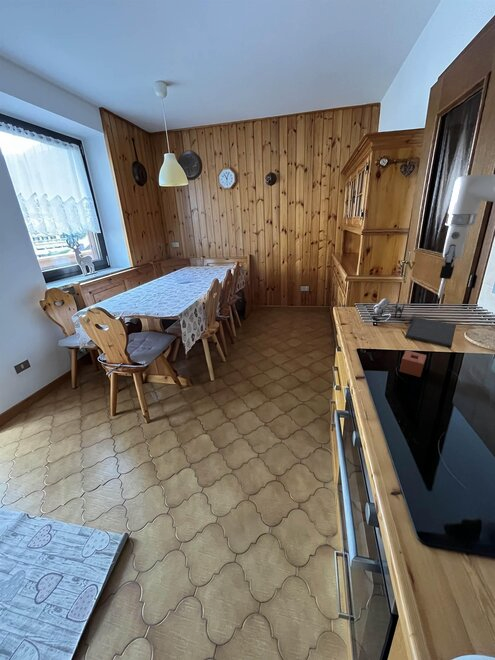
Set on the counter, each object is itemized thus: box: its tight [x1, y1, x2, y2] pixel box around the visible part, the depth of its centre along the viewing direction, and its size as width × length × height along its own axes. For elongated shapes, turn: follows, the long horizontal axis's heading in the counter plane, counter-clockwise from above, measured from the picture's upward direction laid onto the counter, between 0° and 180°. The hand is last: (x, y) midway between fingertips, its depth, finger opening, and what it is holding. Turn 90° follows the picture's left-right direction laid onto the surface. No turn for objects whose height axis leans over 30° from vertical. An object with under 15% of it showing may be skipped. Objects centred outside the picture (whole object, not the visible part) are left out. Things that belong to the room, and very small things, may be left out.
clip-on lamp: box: [369, 298, 406, 323], centre depth 127 cm, size 12×6×18 cm
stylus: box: [437, 278, 448, 299], centre depth 97 cm, size 1×1×13 cm
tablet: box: [404, 316, 457, 349], centre depth 113 cm, size 16×20×1 cm
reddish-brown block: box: [398, 349, 427, 378], centre depth 91 cm, size 6×6×5 cm
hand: (445, 277), depth 96 cm, fingers closed on stylus, 1 cm apart
